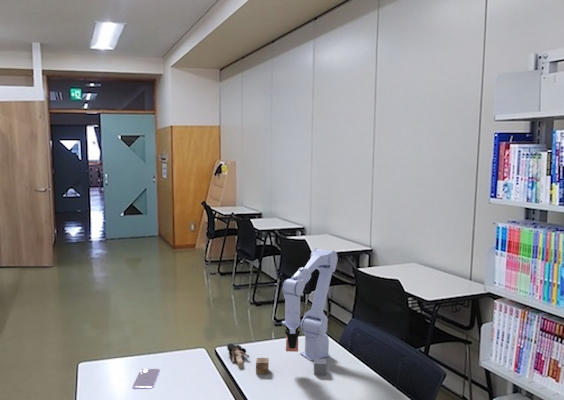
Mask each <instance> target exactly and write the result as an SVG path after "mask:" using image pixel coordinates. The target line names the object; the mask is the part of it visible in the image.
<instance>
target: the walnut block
mask: <svg viewBox="0 0 564 400" xmlns="http://www.w3.org/2000/svg"><path fill="white" fill-rule="evenodd" d="M269 361H270V359H269V357H257V358H256V361H255V374H256V375H269V366H270V365H269V364H270V363H269Z"/></svg>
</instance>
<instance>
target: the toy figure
mask: <svg viewBox="0 0 564 400" xmlns="http://www.w3.org/2000/svg"><path fill="white" fill-rule="evenodd" d="M226 349H227V351H228V355H229V356H230V357H231V358H232V364H234V363H235V362H236V364H237V366H238V368H239V369H241V368H244V367H245V365H244V363H245V362H244V360H245V357H244V356H246V359H247V358H250V355H249V354H247V349H246V348H244V347H242V346H241V345H240V344H237V345H236V344H234V343H228V344H227V345H226Z"/></svg>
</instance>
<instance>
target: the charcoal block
mask: <svg viewBox="0 0 564 400" xmlns="http://www.w3.org/2000/svg"><path fill="white" fill-rule="evenodd" d="M326 360H327V359H326V358H320V359H314V360H313V375H314V376H327V361H326Z"/></svg>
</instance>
